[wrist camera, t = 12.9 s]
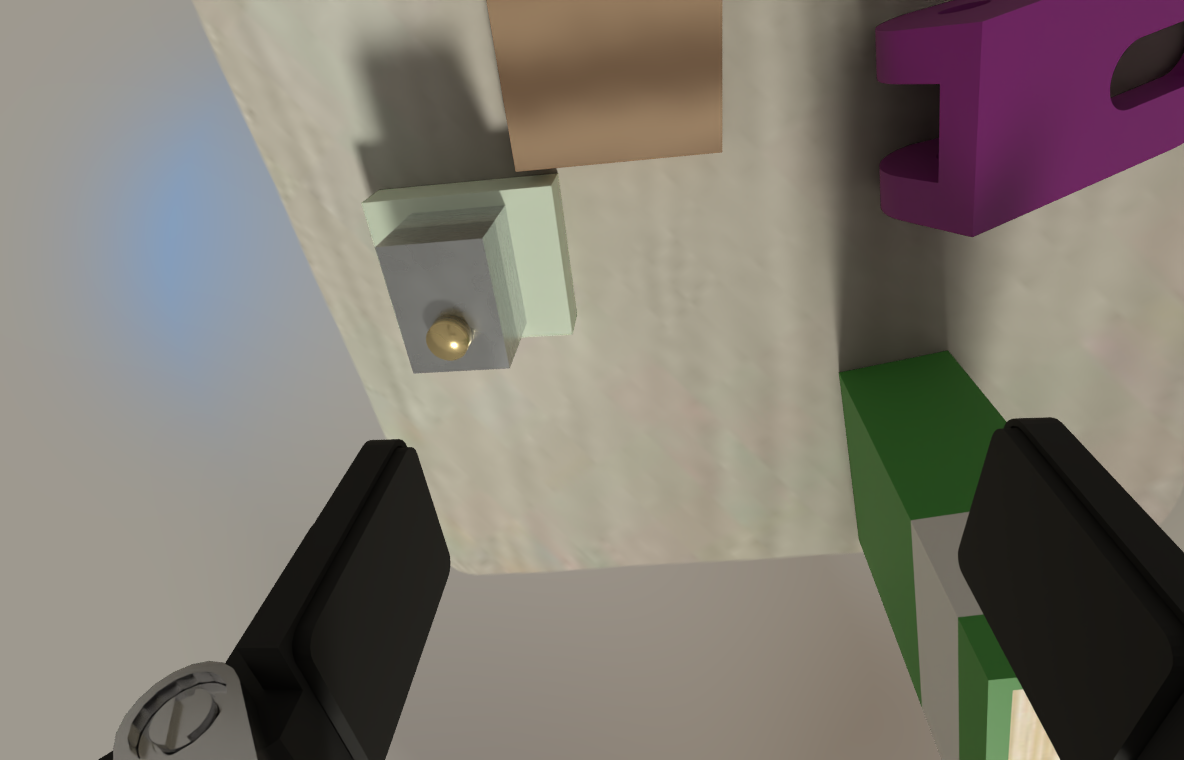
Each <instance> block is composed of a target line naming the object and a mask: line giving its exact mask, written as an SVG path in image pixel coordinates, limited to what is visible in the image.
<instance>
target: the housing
mask: <svg viewBox="0 0 1184 760" xmlns="http://www.w3.org/2000/svg"><path fill="white" fill-rule="evenodd" d="M375 249H376V252H377V256H378V259H379V262H380V266H381V269H382V272H383V275H384V279H385V282H386V285H387V288H388V292H389V295H390V298H391V301H392V305H393V308H394V311H395V314H396V318H397V321H398V324H399V328H400V331H401V334H402V337H403V341H404V344H405V347H406V350H407V354H408V357H409V360H410V363H411V367H412V370H413V373H430V372H449V371H467V370H486V369H505V368H510V366H511V364H512V361H513V358H514V356H515V353H516V350H517V348H518V345H519V342H520V340H521V337H522V334H523V332H524V329H525V326H526V324H527V320H526V315H525V309H524V304H523V298H522V293H521V287H520V282H519V277H518V271H517V266H516V260H515V255H514V250H513V244H512V239H511V233H510V228H509V223H508V217H507V212H506V206H505V205H500V206H489V207H478V208H467V209H455V210H444V211H433V212H421V213H411V214H410V215H409V216H408V217H407V218H406V219H405V220H404V221H403V222H402V223H400V224H399V225H398V226H397V227H396V228H395V229H394V230H393V231H392V232H391V233H390V234H389V235H388V236H386V237H385V238H384V239H383V240H382V241H381V242H380V243H379V244H378V245H377V246H376V247H375Z"/></svg>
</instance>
